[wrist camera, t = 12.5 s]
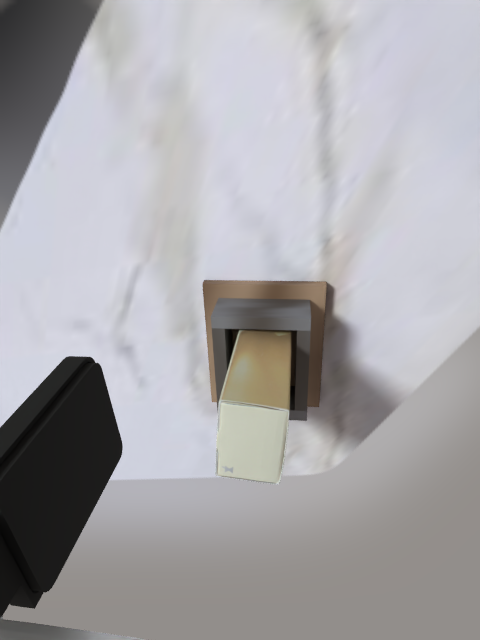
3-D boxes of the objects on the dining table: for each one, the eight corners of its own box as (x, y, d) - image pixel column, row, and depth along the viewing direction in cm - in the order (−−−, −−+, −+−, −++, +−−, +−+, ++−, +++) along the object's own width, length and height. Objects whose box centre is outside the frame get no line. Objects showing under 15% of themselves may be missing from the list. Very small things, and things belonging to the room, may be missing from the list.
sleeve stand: (325, 281, 34) (329, 303, 30) (318, 401, 39) (320, 433, 36) (204, 280, 35) (193, 301, 31) (213, 396, 41) (204, 426, 37)
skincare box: (285, 380, 38) (280, 490, 27) (237, 375, 38) (213, 480, 27) (293, 317, 35) (292, 411, 24) (242, 311, 35) (217, 401, 24)
